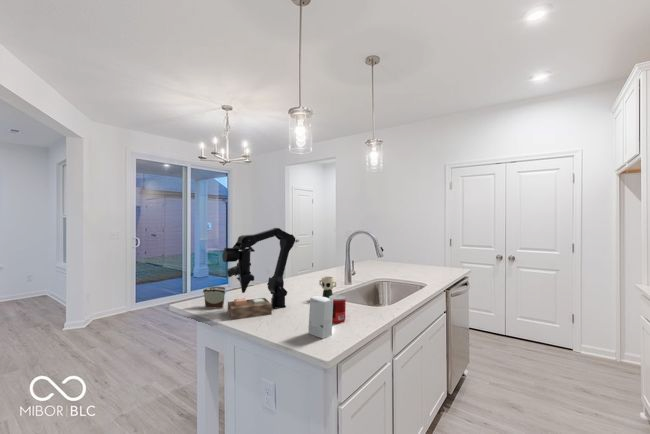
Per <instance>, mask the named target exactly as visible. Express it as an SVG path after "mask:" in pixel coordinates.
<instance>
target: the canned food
mask: <svg viewBox="0 0 650 434" xmlns="http://www.w3.org/2000/svg"><path fill="white" fill-rule="evenodd" d="M329 299H333V316H332V324H343V323H345V321H346V305H347V304H346V296H345V295H341V294H333V295H332V296H329Z"/></svg>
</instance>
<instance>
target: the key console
mask: <svg viewBox="0 0 650 434" xmlns="http://www.w3.org/2000/svg"><path fill="white" fill-rule="evenodd" d="M253 299H254V298H253ZM253 299H252V298H251V299H246V305H242V306H235V305H234V300H232V301H227V313H228V315H229V317H230V319H231V320H240V319H246V318H247V319H248V318H254V317H256V318H257V317H260V316H261V317H262V316H269V315H272V311H273V309H272V308H273V307H272V304H271V302H270V301H269V300H268V299H267V298H266V297H261V298H258V299H263V300H264V301H265V303H259V304H254V303H253V302H252V300H253Z"/></svg>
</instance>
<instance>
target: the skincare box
mask: <svg viewBox="0 0 650 434" xmlns="http://www.w3.org/2000/svg"><path fill="white" fill-rule="evenodd" d="M322 296H323V295H322ZM322 296H321V295H316V296H315V295H314V296H311V297H309V312H308V334H309V335H312V336H314V337H318V338H319V339H322V340H323V339H325V338H329V337H330V336H332V335H333V334H332V332H333V323H332V316H333V299H329V298H327V297H322Z"/></svg>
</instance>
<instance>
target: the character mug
mask: <svg viewBox="0 0 650 434" xmlns="http://www.w3.org/2000/svg"><path fill="white" fill-rule="evenodd" d="M318 282H319V286H321V288H322V289H323V290H322V291H323V292H322V297H327V298H329V296H332V295H334V294H333V289H334V288H336V287H337V281H335V277H333V276H322V277H321V279H320V280H319V281H318Z"/></svg>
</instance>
